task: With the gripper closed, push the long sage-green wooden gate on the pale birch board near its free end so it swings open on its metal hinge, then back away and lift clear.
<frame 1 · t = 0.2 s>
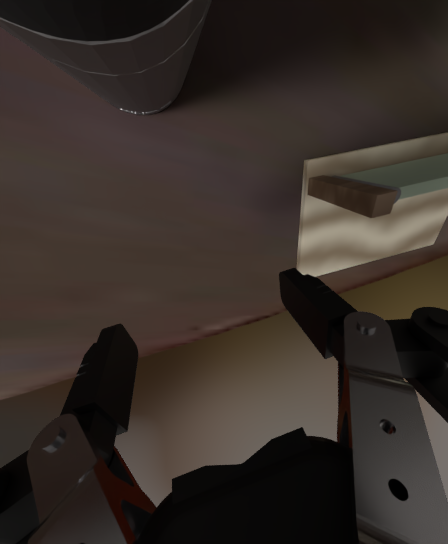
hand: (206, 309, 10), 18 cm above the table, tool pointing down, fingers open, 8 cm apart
gate frame: (379, 209, 32), on the table
gate: (430, 172, 24), point 5 cm above the table, hinge at 0.0°
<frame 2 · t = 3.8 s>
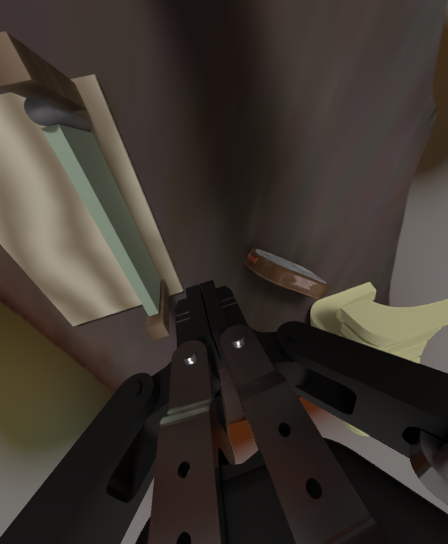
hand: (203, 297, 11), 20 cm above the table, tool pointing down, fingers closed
gate frame: (83, 229, 27), on the table
tin: (275, 260, 37), on the table
pale yellow c-shaped piece: (334, 314, 48), on the table
gate: (119, 225, 23), point 5 cm above the table, hinge at 0.0°
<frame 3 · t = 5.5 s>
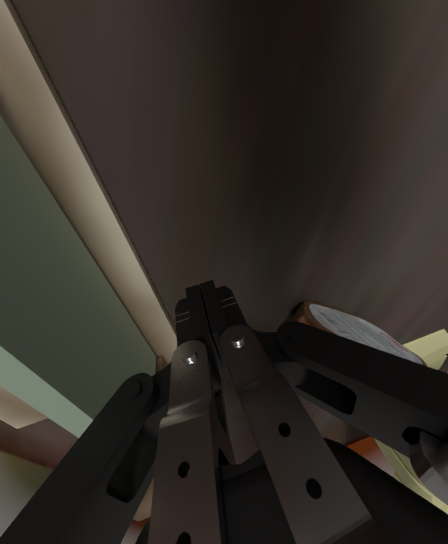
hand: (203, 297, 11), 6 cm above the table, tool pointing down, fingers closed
gate frame: (13, 291, 15), on the table
tin: (328, 313, 25), on the table
pale yellow c-shaped piece: (390, 368, 36), on the table
gate: (62, 308, 10), point 5 cm above the table, hinge at 0.0°
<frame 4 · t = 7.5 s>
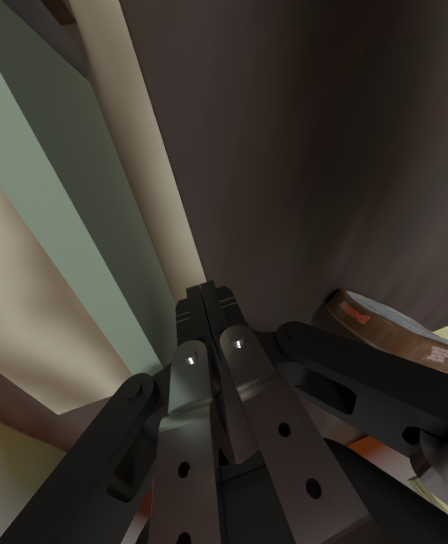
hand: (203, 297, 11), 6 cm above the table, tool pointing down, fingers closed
gate frame: (72, 272, 15), on the table
tin: (359, 301, 25), on the table
pale yellow c-shaped piece: (409, 359, 37), on the table
gate: (139, 283, 11), point 5 cm above the table, hinge at 2.2°, touching gripper
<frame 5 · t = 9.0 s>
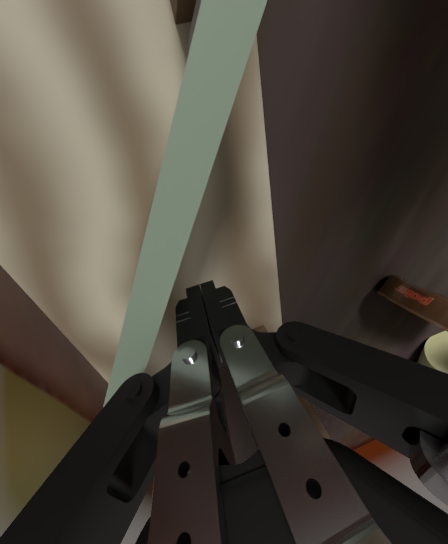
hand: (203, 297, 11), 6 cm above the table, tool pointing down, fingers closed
gate frame: (159, 255, 16), on the table
tin: (403, 290, 26), on the table
pale yellow c-shaped piece: (439, 351, 37), on the table
gate: (153, 257, 10), point 5 cm above the table, hinge at 34.5°, touching gripper
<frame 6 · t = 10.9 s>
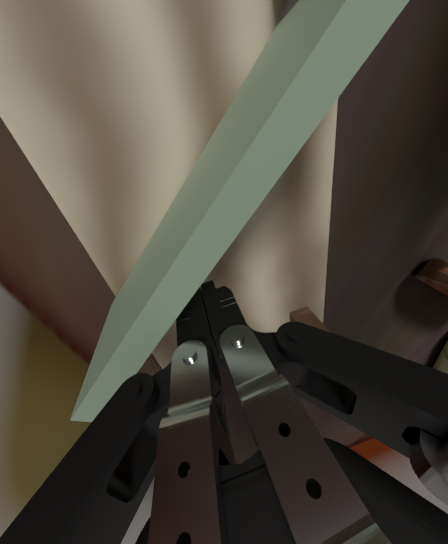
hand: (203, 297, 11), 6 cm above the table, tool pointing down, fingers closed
gate frame: (219, 232, 16), on the table
tin: (438, 275, 26), on the table
gate: (202, 200, 9), point 5 cm above the table, hinge at 49.0°, touching gripper
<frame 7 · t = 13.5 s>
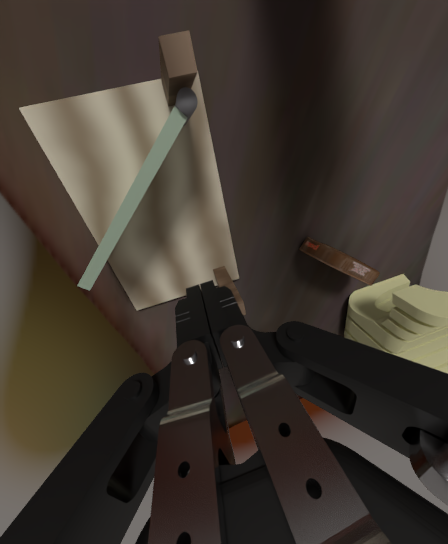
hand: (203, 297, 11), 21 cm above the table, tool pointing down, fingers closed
gate frame: (160, 216, 29), on the table
tin: (322, 250, 39), on the table
pale yellow c-shaped piece: (367, 305, 50), on the table
gate: (135, 197, 22), point 5 cm above the table, hinge at 49.4°
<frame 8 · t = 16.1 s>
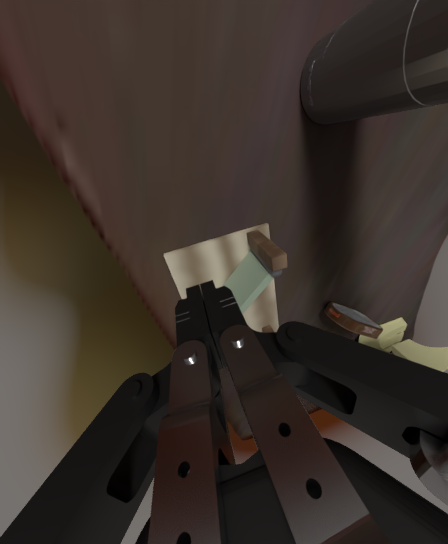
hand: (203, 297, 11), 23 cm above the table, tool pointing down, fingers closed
gate frame: (231, 298, 42), on the table
tin: (340, 307, 52), on the table
pale yellow c-shaped piece: (373, 340, 63), on the table
gate: (228, 302, 35), point 5 cm above the table, hinge at 49.4°
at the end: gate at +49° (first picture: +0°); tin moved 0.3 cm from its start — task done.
